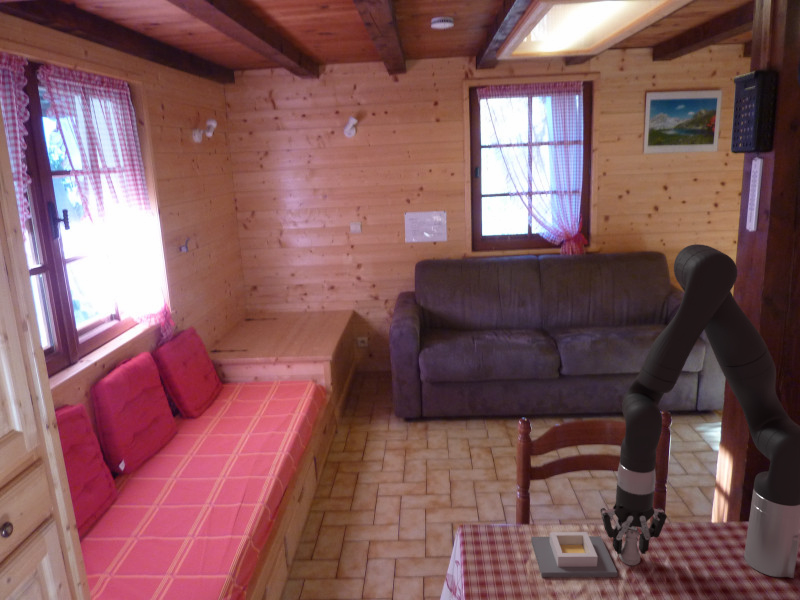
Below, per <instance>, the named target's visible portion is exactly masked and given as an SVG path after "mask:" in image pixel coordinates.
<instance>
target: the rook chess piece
mask: <svg viewBox="0 0 800 600" xmlns="http://www.w3.org/2000/svg"><path fill="white" fill-rule="evenodd" d="M640 534H641V532H640V531H639V527H635V526H633V527H628V530H627V532H626V533H624V543H623V545H622V552H621V554H618V556H619V560H620V561H621V562H622V563H623V564H625V565H628V566H637V565H639V563H640V562H641V554H640V553H641V552H639V551H640V550H639V548H638V543H637V542H639V538H638V537H640Z"/></svg>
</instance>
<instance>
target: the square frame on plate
mask: <svg viewBox="0 0 800 600" xmlns="http://www.w3.org/2000/svg"><path fill="white" fill-rule="evenodd" d="M530 542H531V545H532V548H533V552H534V554H535V558H536V561H537V565H538V568H539V573H540V576H541V578H615V577H616V578H618V571H617V569H616V566H615V564H614V561H613V560H612V558H611V555H610V553H609V551H608V549H607V547H606V545H605V542H604V541H603V539H602V536H599V535H597V536H596V535H595V536H594V535H591V536H590V535H589V534H588V531H550V532H549V536H531V541H530Z"/></svg>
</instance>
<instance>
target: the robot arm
mask: <svg viewBox="0 0 800 600" xmlns="http://www.w3.org/2000/svg"><path fill="white" fill-rule="evenodd" d="M673 274H674V277H675V279H676V281H677V283H678V284H679V285H680V287H681V289H682V290H683V292H684V293H683V296H682V299H681V303H680V305H679V307H678V309H677V311H676V313H675V315H674V317H673V318H672V319H671V321H669V323H668V325H667V326H666V327H665V328H664V329H663V330H662V331H661V332H660V334H659V335H658V336H657V337H656V338H655V340H654V341H653V343H652V344H651V347H650V348H649V350H648V351H647V352H648V353H647V354H646V356H645V359H644V362H643V363H642V366H641V368H640V371H639V373H638V375H637V376H636V377H635V379H633V381H632V383H631V384H630V386H629V387H628V388H627V391H626V392H625V394H624V397H623V400H622V403H621V409H622V414H623V417H624V420H625V432H624V433H625V434H624V438H623V439H622V442H621V445H620V451H619V452H620V455H619V463H618V468H617V475H616V489H615V490H616V491H615V504H614V505H613V507H612V508H610V509H609V508H608V509H606V508H604V507H601V508H600V515H601V519H602V522H603V526H604V530H605V532H606V535H607V537H608V538H609V539H612V548H613V550H614V551H615V552H616V553H617V555H619V554H621V552H622V547H623V538H624V536H625V533H626V532H627V530H628V527H633V526H635V527H636V528H639V529H640V535H639V538H638V551H640V552H639V553H641V555H645V554H646V553H647V552H648V551H649V547H650V546H649V545H650V540H651V538H654V539H655V538H656V539H657V538H659V537H660V535H661V532H662V530H663V527H664V525H665V524H666V523H665V522H666V520H667V518H668V516H667V514H666V512H665V511H664V510H663V508H662V507H658V508H654V507H653V506H654V499H655V498H654V497H655V489H656V488H655V485H656V465H657V464H656V463H657V448H658V445H659V441H660V438H661V435H662V431H663V430H662V429H663V415H662V412H661V410H660V408H659V404H660V402H661V400H662V397H664V395H665V394H668V393H670V392H672V390H673V389H674V388H675V385H676V384H677V381H678V380H679V377H680V375H681V374H682V371H683V369H684V367H685V364H686V362H687V360H688V358H689V356H690V355H691V352H692V350H693V348H694V347H695V345H696V343H697V342H698V339H699V338H700V337H701V335H702V333H703V332H704V333H705V335H706V337H707V341H708V342H709V346H710V348H711V349H712V351H713V354H714V357H715V359H716V361H717V363H718V366H719V367H720V370H721V371H722V373H723V376H724V378H725V379H726V382H727V383H728V385H729V387H730V389H731V391H732V392H733V395H734V396H735V398H736V400H737V402H738V403H739V405H740V407H741V409H742V412H743V415H744V417H745V420H746V423H747V427H748V430H749V433H750V435H751V438H752V441H753V443H754V446H755V447H756V449H757V450H758V452H760V453H761V454H762V455H764V457H765V458H767V459H768V460H769V461H770V464H769V468H768V471H767V470H766V471H761V472H759V473H758V474H756V476H755V478H754V482H753V490H752V497H751V504H750V513H749V519H748V526H747V532H746V533H747V534H746V540H745V546H744V553H743V554H744V556H743V557H744V560H745V562H746V564H748V565H749V566H750V568H752V569H754V570H756V571H757V572H759V573H761V574H764V575H767V576H770V577H774V578H790V579H794V577H795V573H796V572H795V571H796V567H797V566H796V565H797V564H796V563H797V559H798V553H799V548H800V547H799V546H800V425H799V424H798V423H797V422H795V421H794V420H793V419H791V418H790V416H789V415H788V413H787V411H786V410H785V409H784V406H783V405H782V403H781V401H780V399H779V397H778V395H777V392H776V382H777V369H776V364H775V362H774V359H773V357H772V355H771V353H770V351H769V350H770V349H768V345H767V344H766V342H765V340H764V338H763V337H762V334H761V333H760V331H759V330H758V329H757V328H756V327H755V326H756V325H754V323H753V322H752V321H751V319H750V318H749V317H748V316H747V314H746V313H745V312H744V311H743V309H742V308H741V306H740V305H739V304H738V302H737V301H736V299H735V297H734V296H733V294H732V289H733V287H734V285H735V283H736V281H737V279H738V278H737V277H738V267H737V265H736V262H735V261H734V259H733V258H731V257H730V256H729V255H728V254H726V253H725V252H722V251H720V250H718V249H717V248H714V247H712V246H709V245H707V244H706V245H705V244H696V243H695V244H690V245H688V246H685V247H684V248H682V249H681V250H680V251H679V252H678V254H677V255H676V257H675V259H674V263H673ZM614 516H616V517H617V518H616V521H615V525H614V527H613V526H612V521H613V519H614ZM651 518H653V519H652V520H651V523H650V526H649V525H648V523H647V522H648V521H649V520H650V519H651Z"/></svg>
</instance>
